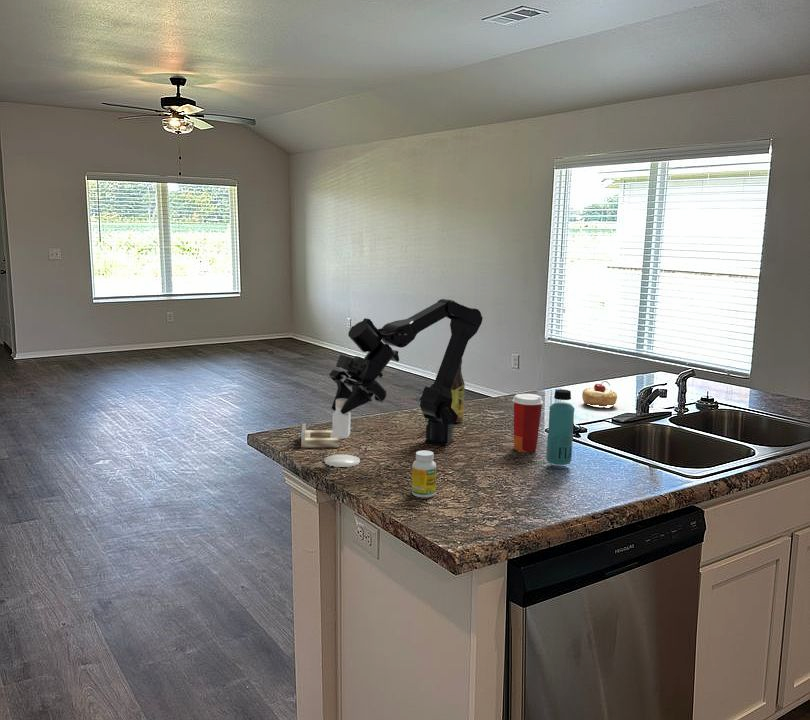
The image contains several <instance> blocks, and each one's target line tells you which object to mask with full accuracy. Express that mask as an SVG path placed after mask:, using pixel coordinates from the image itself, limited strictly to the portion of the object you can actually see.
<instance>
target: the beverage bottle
mask: <svg viewBox="0 0 810 720" xmlns="http://www.w3.org/2000/svg"><path fill="white" fill-rule="evenodd" d="M571 392H572V391H571V390H568V389H563V388H562V389H555V391H554V395H553V396H554V397H553V399H555V400H561V401H555V402H553V403H552V404H550V406H549V407H548V408H549V412H548V413H549V414H548V430H547V432H548V433H547V440H546V449H545V450H546V453H545V455H546V456H545V457H546V459H545V460H546V461H547V463H549V464H551V465H559V466H565V465H566V466H568V465H569V464H571V461H572V454H573V446H574V445H573V440H574V439H573V436H574V435H573V434H574V425H575V423H574V422H575V421H574V420H575V417H574V416H575V408H574V406H573V404H571V403H570V402H567V401H569V400H571V399H572V397H571V396H572V393H571ZM565 401H566V402H565Z"/></svg>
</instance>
